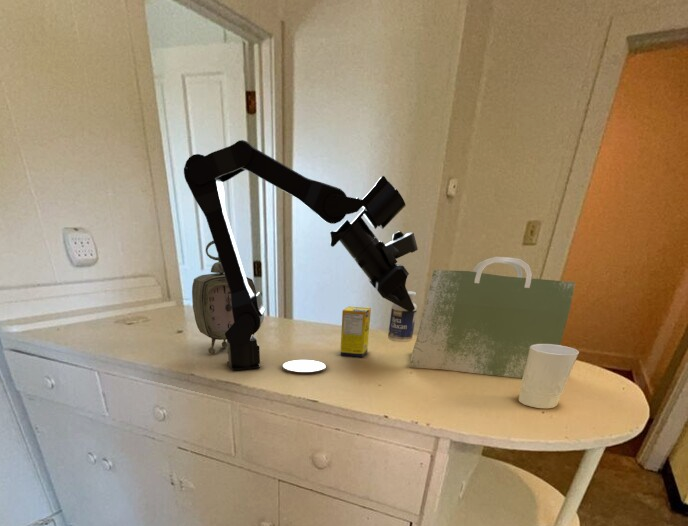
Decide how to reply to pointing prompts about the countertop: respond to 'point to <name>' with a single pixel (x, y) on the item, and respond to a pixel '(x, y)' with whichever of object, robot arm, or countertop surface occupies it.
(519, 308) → the grocery bag
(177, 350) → the countertop surface
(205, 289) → the tabletop clock
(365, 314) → the supplement box
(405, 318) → the pill bottle
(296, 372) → the white disc
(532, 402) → the white cup
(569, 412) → the countertop surface
